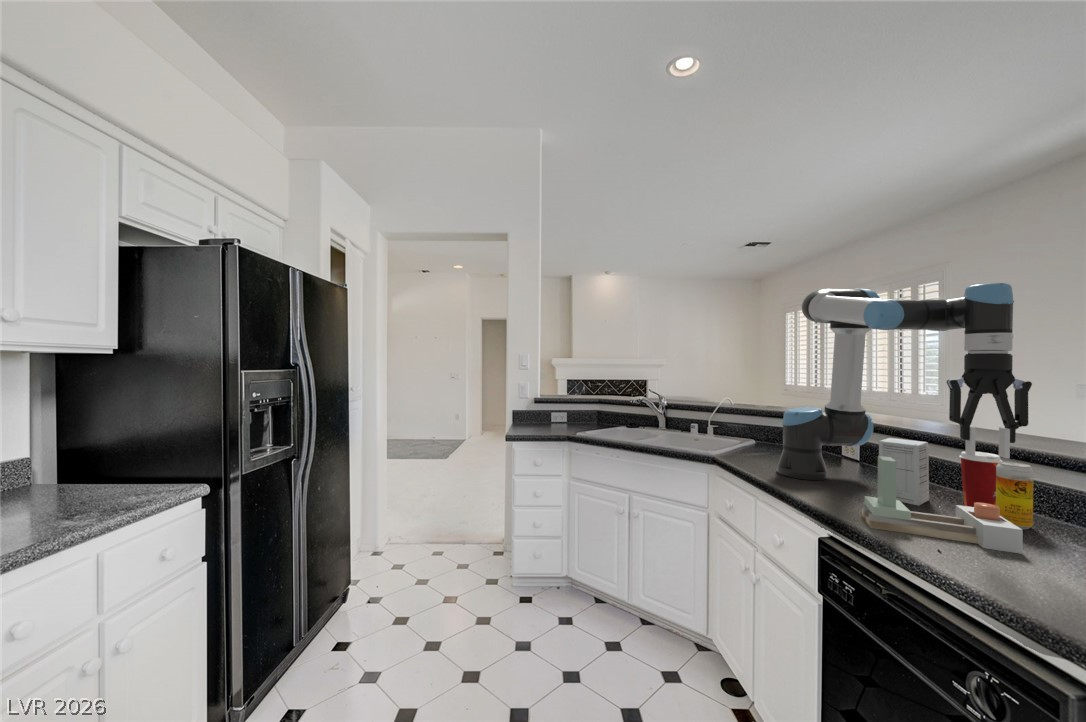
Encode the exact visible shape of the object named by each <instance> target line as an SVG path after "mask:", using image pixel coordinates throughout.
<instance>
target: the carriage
mask: <svg viewBox="0 0 1086 722" xmlns="http://www.w3.org/2000/svg"><path fill="white" fill-rule="evenodd" d="M864 505H866V506H867V508H868V509H869V510H870V512H871V513H872V514H873V515H875V516H883V517H890V518H897V519H905V520H911V510H910V509H909V508H908V507H906V506H905V505H904V504H903V502H900V501H899V500H896V461H895V460H894V459H892V458H891V457H883V456H879V455H878V456H877V497H875V496H874V497H873V496H866V495H864Z"/></svg>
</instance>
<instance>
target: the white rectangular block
mask: <svg viewBox="0 0 1086 722" xmlns="http://www.w3.org/2000/svg"><path fill="white" fill-rule="evenodd" d="M955 517H960V518H963V519H964V525H965V526H973V527H975V528H976V536H978V545H979V546H980V547H982V548H983V549H986V550H987V549H988V550H995V551H1001V552H1008V553H1015V554H1023V544H1024V543H1023V541H1024V540H1023V536H1024V535H1023V533H1024V532H1023V530H1024V529H1020V528H1019V527H1017V526H1016V525H1014V524H1012V523H1011V522H1009V521H1008V520H1006V519H1005V518H1003V517H1001V516H1000V521H995V520H987V519H979V518H976V517H974V507H968V506H965V505H960V504H955Z"/></svg>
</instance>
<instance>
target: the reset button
mask: <svg viewBox="0 0 1086 722" xmlns="http://www.w3.org/2000/svg"><path fill="white" fill-rule="evenodd" d="M974 517H976V518H979V519H987V520H995V521H1000V507H998V506H996V505H992V504H987V503H979V502H976V503H974Z"/></svg>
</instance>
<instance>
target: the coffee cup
mask: <svg viewBox="0 0 1086 722" xmlns="http://www.w3.org/2000/svg"><path fill="white" fill-rule="evenodd" d="M959 458H960V466H961V478H962V479H961V482H962V492H963V493H962V494H963V503H964V504H963V506H968V507H974V503H976V502H979V503H987V504H992V505H996V466H997V465H998V463H999V462H1004V461H1003V460H1002V458H1001V456H999V454H995V453H991V452H990V453H989V452H984V451H983V452H982V451H975V456H971V455H968V454H966V453H965V451H964V450H963V451H961V453H960V454H959Z"/></svg>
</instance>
